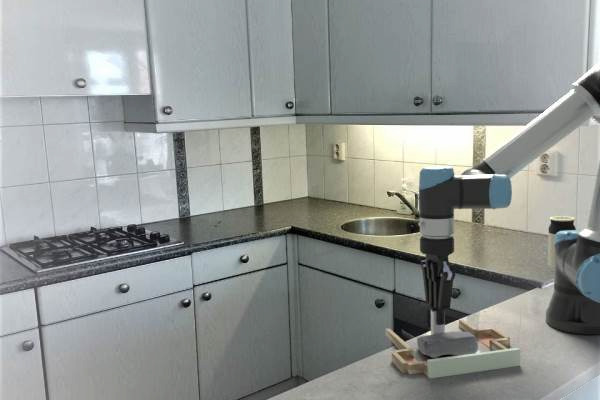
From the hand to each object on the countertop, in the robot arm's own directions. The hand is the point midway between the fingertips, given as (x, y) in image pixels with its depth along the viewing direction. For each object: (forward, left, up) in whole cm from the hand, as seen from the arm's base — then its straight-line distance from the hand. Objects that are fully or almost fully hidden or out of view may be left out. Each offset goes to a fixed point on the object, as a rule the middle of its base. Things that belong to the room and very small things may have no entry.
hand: (437, 336), depth 134 cm
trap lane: (0, +5, -1) cm, 5 cm away
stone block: (0, +1, +1) cm, 1 cm away
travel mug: (-64, -43, -2) cm, 77 cm away
